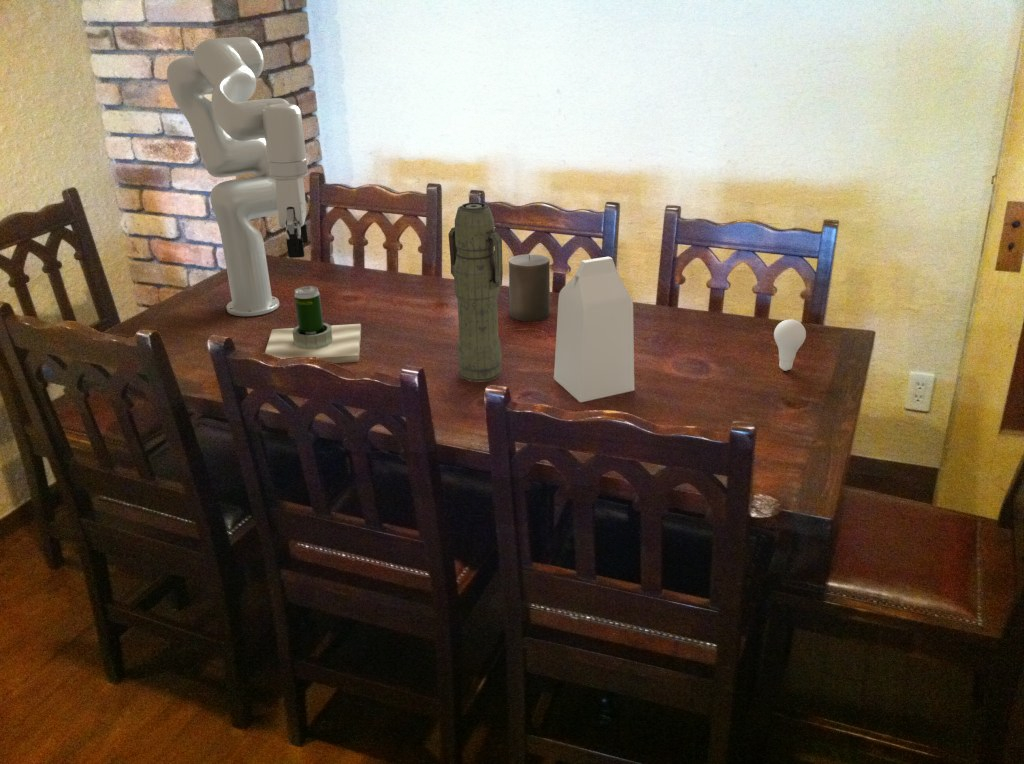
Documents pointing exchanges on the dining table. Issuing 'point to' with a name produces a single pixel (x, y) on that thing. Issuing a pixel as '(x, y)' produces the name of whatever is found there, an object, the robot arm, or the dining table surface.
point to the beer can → (309, 310)
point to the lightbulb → (789, 341)
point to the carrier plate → (327, 353)
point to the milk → (595, 333)
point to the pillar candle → (529, 287)
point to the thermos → (477, 290)
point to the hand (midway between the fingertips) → (298, 249)
